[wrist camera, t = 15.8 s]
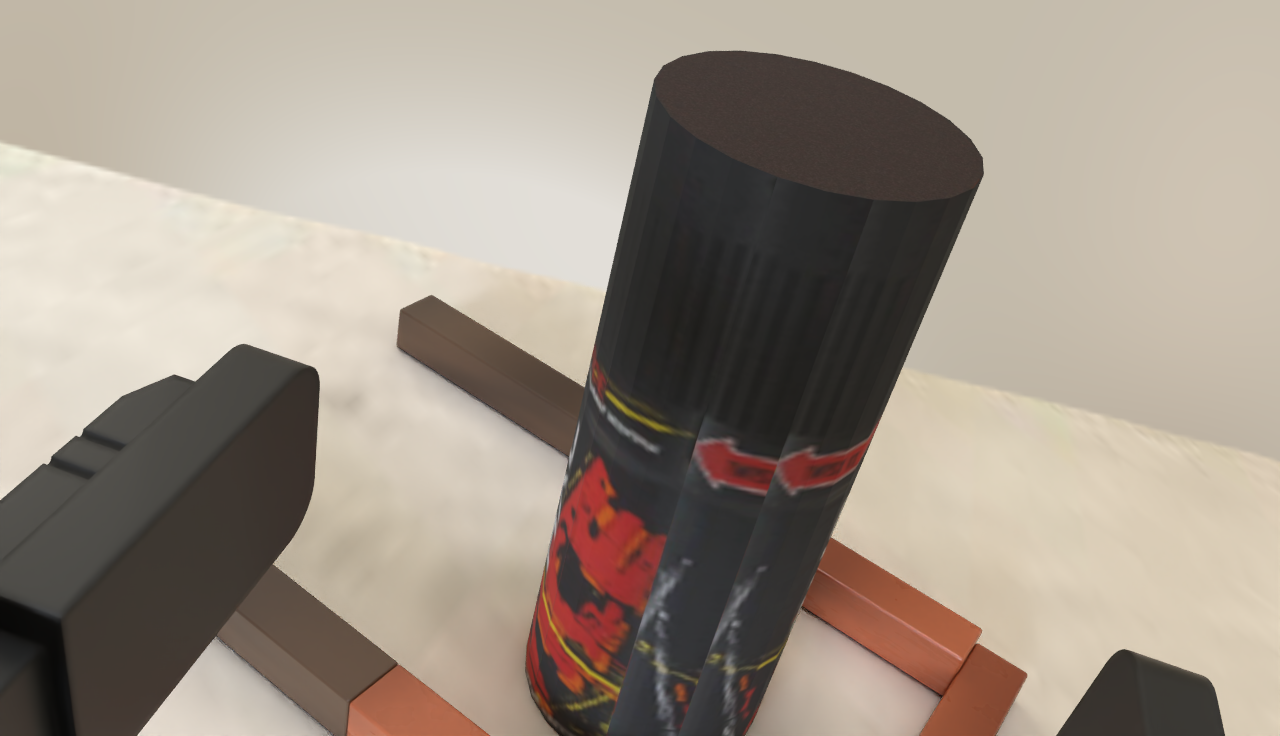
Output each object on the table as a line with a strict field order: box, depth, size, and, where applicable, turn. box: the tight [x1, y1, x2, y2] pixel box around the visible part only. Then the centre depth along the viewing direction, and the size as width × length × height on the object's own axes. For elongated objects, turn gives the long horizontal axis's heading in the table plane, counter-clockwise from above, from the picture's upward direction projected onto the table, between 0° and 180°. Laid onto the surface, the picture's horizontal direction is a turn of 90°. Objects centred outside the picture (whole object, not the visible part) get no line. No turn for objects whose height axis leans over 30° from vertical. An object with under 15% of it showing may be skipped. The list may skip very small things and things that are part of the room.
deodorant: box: [525, 51, 984, 736], centre depth 24 cm, size 6×6×15 cm
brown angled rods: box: [216, 295, 1027, 736], centre depth 29 cm, size 22×13×2 cm, turn 55°
